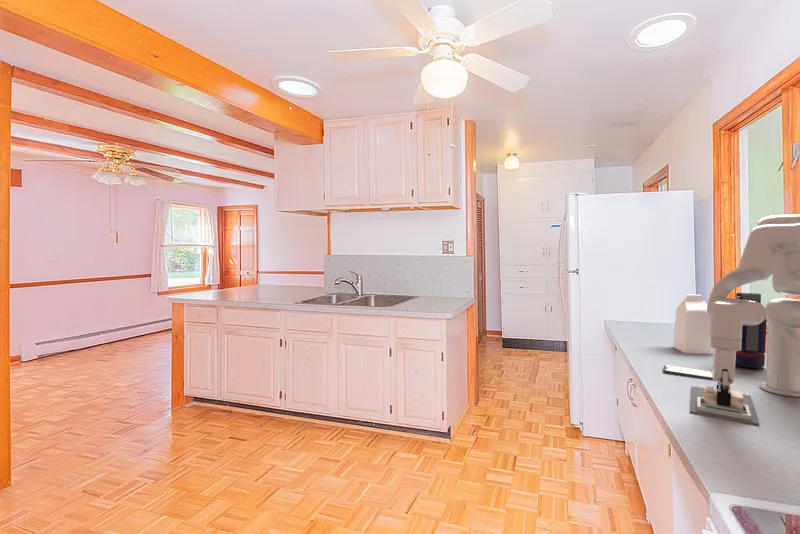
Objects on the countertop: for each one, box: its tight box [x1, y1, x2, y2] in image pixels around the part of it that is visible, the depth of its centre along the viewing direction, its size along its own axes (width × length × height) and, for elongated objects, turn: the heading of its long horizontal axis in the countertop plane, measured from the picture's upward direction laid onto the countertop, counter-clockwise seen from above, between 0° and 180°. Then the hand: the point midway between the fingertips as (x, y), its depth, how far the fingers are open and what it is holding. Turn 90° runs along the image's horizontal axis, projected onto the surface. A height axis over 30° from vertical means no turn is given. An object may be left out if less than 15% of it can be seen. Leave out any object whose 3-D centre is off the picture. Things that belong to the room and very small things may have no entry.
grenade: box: [735, 292, 767, 371], centre depth 173 cm, size 14×12×30 cm
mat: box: [689, 385, 760, 427], centre depth 134 cm, size 26×16×1 cm, turn 145°
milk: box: [672, 294, 714, 355], centre depth 198 cm, size 12×12×26 cm
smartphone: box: [663, 364, 713, 381], centre depth 165 cm, size 9×2×16 cm
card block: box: [704, 385, 743, 410], centre depth 129 cm, size 9×6×4 cm, turn 55°
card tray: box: [697, 397, 751, 420], centre depth 129 cm, size 13×10×1 cm
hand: (723, 401), depth 129 cm, fingers closed on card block, 5 cm apart
